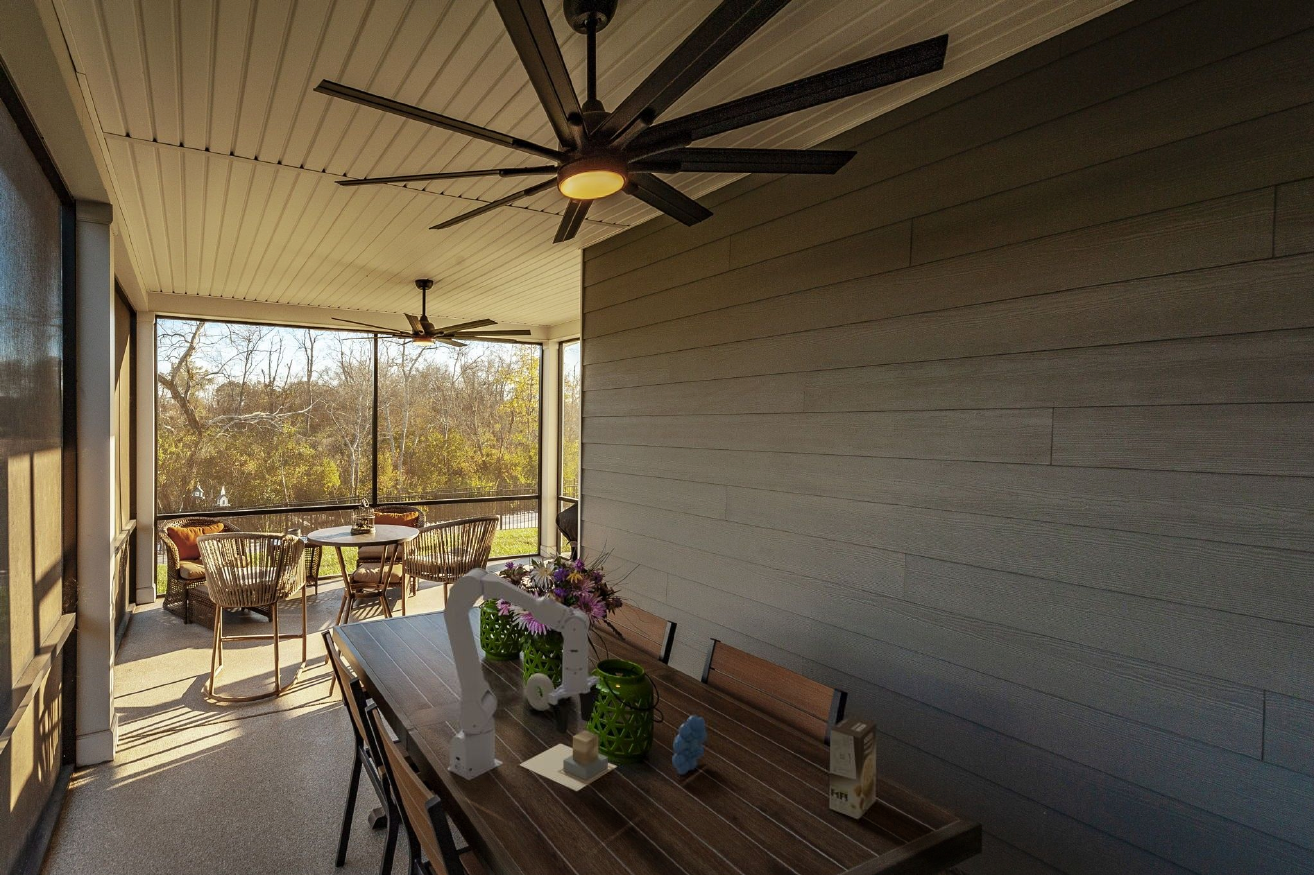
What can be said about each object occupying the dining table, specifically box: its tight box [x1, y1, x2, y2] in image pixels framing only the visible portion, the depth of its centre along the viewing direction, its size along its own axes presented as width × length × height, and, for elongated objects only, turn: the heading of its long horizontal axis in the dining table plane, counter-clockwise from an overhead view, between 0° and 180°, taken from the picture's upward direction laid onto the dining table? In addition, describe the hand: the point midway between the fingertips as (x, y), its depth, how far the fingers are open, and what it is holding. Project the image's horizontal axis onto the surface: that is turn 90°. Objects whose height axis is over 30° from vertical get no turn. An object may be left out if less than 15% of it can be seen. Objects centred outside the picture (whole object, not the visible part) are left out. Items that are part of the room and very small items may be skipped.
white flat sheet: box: [519, 743, 618, 792], centre depth 143 cm, size 13×18×1 cm
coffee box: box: [829, 715, 877, 820], centre depth 130 cm, size 9×6×16 cm
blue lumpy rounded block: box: [671, 714, 708, 776], centre depth 144 cm, size 12×7×12 cm, turn 141°
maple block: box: [572, 730, 599, 765], centre depth 142 cm, size 4×4×5 cm
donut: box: [525, 672, 556, 712], centre depth 175 cm, size 10×3×10 cm, turn 55°
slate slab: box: [563, 753, 609, 781], centre depth 142 cm, size 7×7×2 cm
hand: (574, 726), depth 144 cm, fingers open, 7 cm apart
